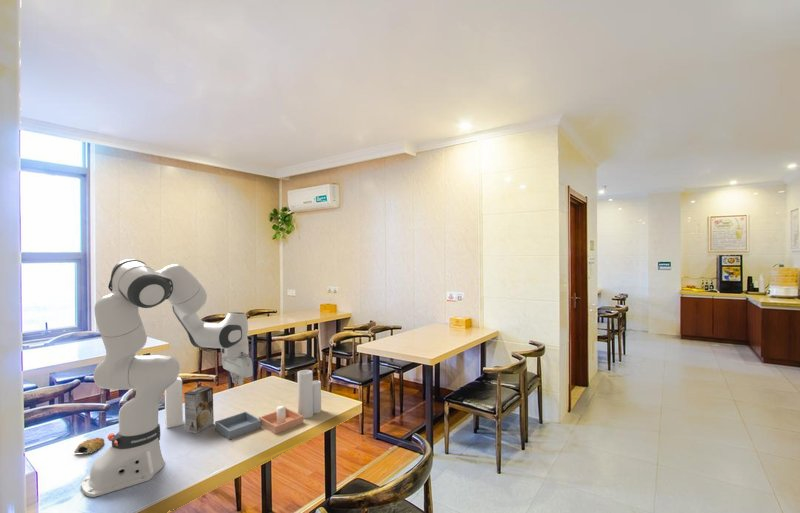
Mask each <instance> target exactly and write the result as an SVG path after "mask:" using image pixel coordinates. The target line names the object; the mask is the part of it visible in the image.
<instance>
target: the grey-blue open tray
mask: <svg viewBox="0 0 800 513" xmlns="http://www.w3.org/2000/svg"><path fill="white" fill-rule="evenodd" d="M214 425H215V426H214V428H215V429H214V430H215V431H216V432H218V433H219V434H220V435H221V436H223V437H224V438H226V439H227V440H229V441H232V439H233V438H236V437H239V436H242V435H244V434H247V433H250V432H253V431H255V430H258V429H261V428H262V426H261V420H260V419H259V417H257V416H254V415H253V414H251V413H249V412H248V411H244V412H241V413H237V414H234V415H230V416H228V417H225V418H222V419H219V420H216V421H215V422H214Z"/></svg>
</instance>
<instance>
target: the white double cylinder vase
mask: <svg viewBox="0 0 800 513" xmlns="http://www.w3.org/2000/svg"><path fill="white" fill-rule="evenodd" d="M313 374H314V372H313V370H312V369H303V370H299V371H297V413H298V414H300V415H302V416H303V420H305V419H309V418H312V417H313V415H314V413H316V414H319V413H321V412H322V381H321V380H314V379H313V378H314V377H313Z"/></svg>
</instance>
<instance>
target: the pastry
mask: <svg viewBox="0 0 800 513" xmlns="http://www.w3.org/2000/svg"><path fill="white" fill-rule="evenodd" d="M104 444H105V438H100V437H96V438H91V439H87V440H85V441H83V442H80V443H79V445H78V446H77V447H76V448H75V450H74V454H75V453H84V454H83V455H89V454H88V453H90V454H92V453H91V452H93V453H95V452H96V451H98V450H99V448H100V447H101V448H102V446H104ZM101 448H100V449H101ZM97 449H98V450H97ZM94 451H95V452H94Z"/></svg>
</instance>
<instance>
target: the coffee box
mask: <svg viewBox="0 0 800 513" xmlns="http://www.w3.org/2000/svg"><path fill="white" fill-rule="evenodd" d="M213 388H214V387H213V386H207V385H200V386H198V387H196V388H193V389H191V390H188V391H186V392H184V394H183V397H184V423H185V424H184V425H185V428H184V429H185V432H188V433H189V432H190V433H194V434H195V433H196V434H197V433H200V432H201V431H203V430H205V429H207V428H208V427H210V426H212V425H213V424H214V425H215V422H214V420H215V419H214V418H215V417H214V392H213V391H214V389H213Z"/></svg>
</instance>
